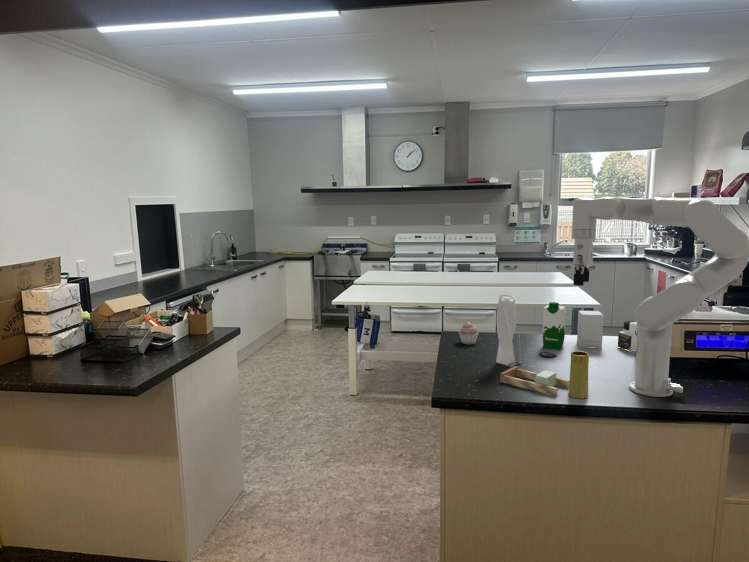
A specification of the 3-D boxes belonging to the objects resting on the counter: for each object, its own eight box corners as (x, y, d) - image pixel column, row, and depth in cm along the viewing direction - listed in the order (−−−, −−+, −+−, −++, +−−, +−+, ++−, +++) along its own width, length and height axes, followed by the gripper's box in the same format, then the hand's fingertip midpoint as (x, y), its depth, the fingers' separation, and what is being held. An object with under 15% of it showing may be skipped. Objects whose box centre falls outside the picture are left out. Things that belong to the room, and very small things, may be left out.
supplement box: (602, 349, 209) (604, 315, 207) (580, 348, 211) (581, 314, 209) (598, 343, 218) (599, 310, 216) (576, 342, 220) (578, 310, 218)
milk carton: (540, 348, 212) (542, 303, 209) (545, 343, 220) (546, 299, 217) (561, 350, 207) (563, 304, 205) (565, 345, 215) (567, 301, 212)
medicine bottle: (617, 347, 211) (618, 320, 209) (630, 346, 213) (631, 319, 211) (630, 352, 204) (632, 324, 202) (643, 350, 206) (645, 322, 204)
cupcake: (478, 340, 227) (478, 319, 225) (479, 345, 218) (480, 323, 216) (457, 339, 228) (457, 319, 227) (458, 345, 219) (458, 323, 217)
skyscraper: (508, 368, 186) (510, 296, 182) (491, 363, 193) (492, 293, 189) (521, 363, 192) (523, 293, 188) (504, 358, 198) (505, 291, 194)
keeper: (555, 385, 167) (556, 372, 166) (546, 391, 162) (546, 378, 161) (544, 382, 170) (545, 370, 169) (535, 388, 164) (535, 375, 164)
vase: (590, 399, 155) (592, 356, 152) (569, 398, 156) (571, 355, 154) (586, 392, 160) (587, 350, 158) (566, 391, 162) (568, 350, 160)
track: (569, 387, 165) (569, 378, 165) (556, 396, 158) (556, 386, 157) (514, 374, 179) (515, 366, 179) (500, 382, 172) (500, 373, 171)
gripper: (590, 236, 158) (588, 287, 161) (599, 233, 173) (597, 280, 175) (566, 235, 162) (564, 286, 165) (577, 233, 177) (575, 279, 179)
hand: (581, 283), depth 170 cm, fingers open, 9 cm apart
